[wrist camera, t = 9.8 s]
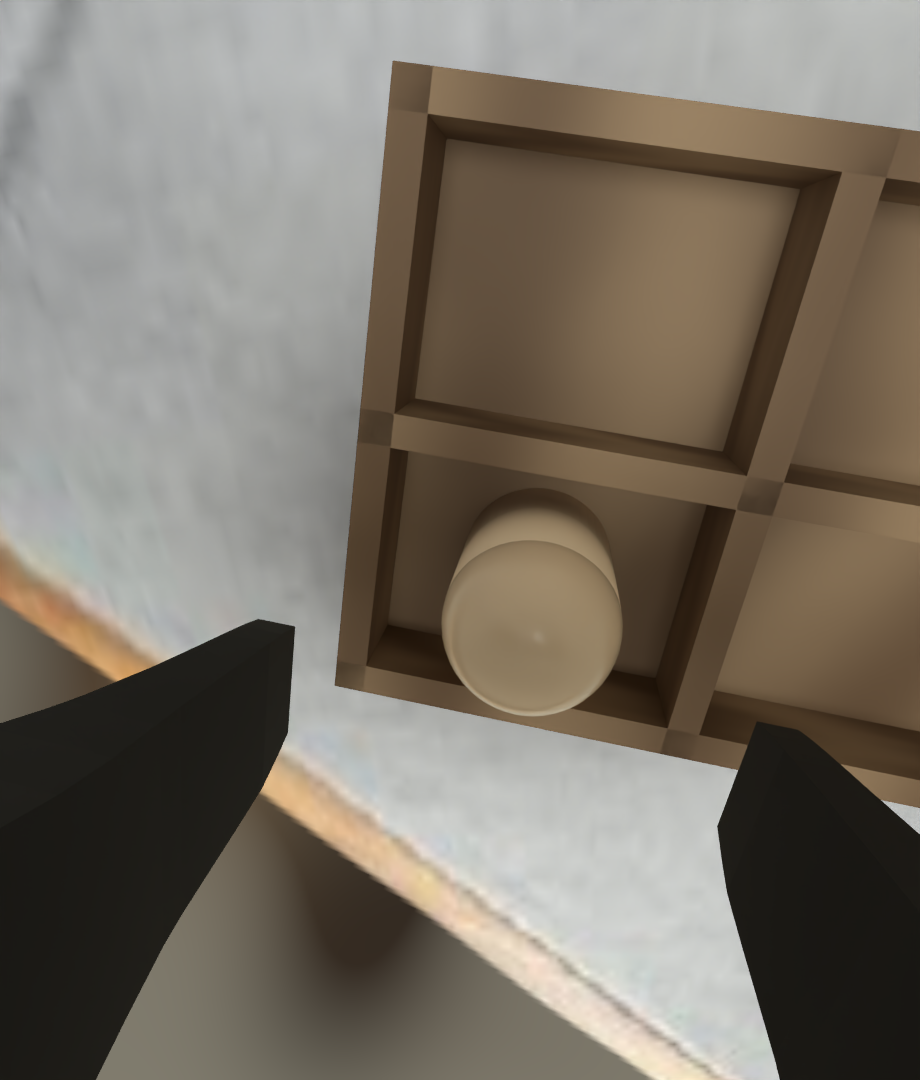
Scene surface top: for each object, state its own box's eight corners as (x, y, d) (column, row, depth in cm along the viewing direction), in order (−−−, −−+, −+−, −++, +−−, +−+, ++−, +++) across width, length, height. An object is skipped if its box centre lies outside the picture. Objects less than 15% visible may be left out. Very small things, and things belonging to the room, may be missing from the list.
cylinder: (456, 606, 20) (415, 733, 14) (477, 476, 18) (440, 559, 13) (592, 633, 19) (605, 773, 14) (625, 502, 18) (654, 600, 12)
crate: (364, 633, 21) (334, 685, 18) (422, 100, 16) (392, 60, 13) (975, 757, 20) (1043, 833, 17) (1260, 216, 14) (1426, 199, 12)
